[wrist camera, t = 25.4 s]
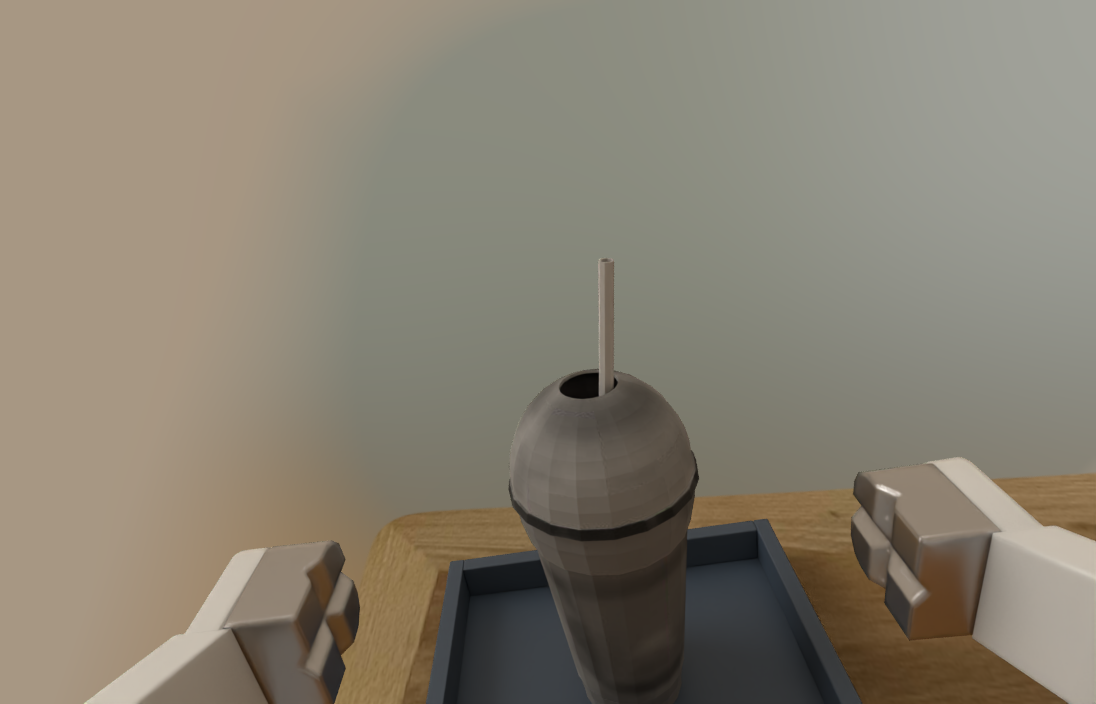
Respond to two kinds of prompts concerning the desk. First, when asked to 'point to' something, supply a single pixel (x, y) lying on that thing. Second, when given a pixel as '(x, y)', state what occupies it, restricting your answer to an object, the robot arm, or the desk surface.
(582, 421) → the beverage cup
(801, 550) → the desk surface
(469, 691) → the tray
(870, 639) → the desk surface
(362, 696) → the desk surface
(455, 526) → the desk surface
